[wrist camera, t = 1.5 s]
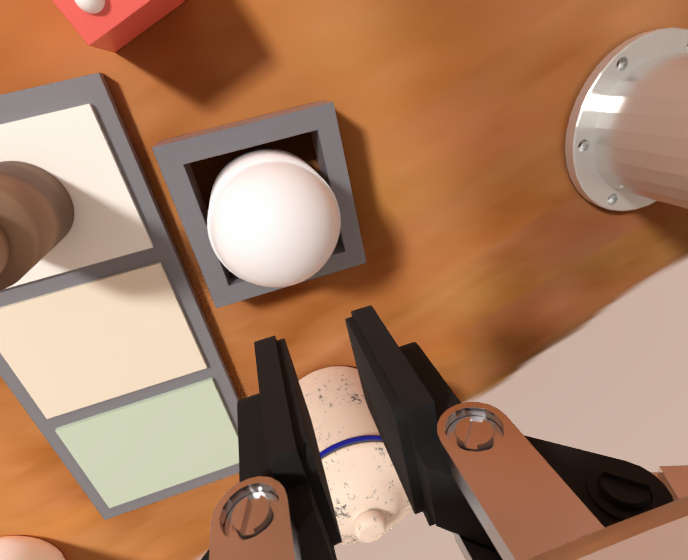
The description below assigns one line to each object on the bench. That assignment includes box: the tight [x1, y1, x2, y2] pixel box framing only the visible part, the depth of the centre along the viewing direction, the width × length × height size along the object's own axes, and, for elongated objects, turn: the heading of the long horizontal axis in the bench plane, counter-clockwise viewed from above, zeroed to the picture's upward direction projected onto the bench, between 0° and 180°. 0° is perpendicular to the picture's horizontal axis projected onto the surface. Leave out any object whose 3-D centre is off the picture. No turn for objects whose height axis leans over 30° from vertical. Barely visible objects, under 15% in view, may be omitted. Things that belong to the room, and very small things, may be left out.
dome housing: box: [152, 100, 367, 308], centre depth 27 cm, size 10×10×3 cm
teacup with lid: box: [299, 366, 412, 545], centre depth 32 cm, size 12×9×12 cm
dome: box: [207, 148, 341, 287], centre depth 24 cm, size 7×7×7 cm
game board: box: [0, 73, 239, 520], centre depth 29 cm, size 13×30×1 cm, turn 13°
